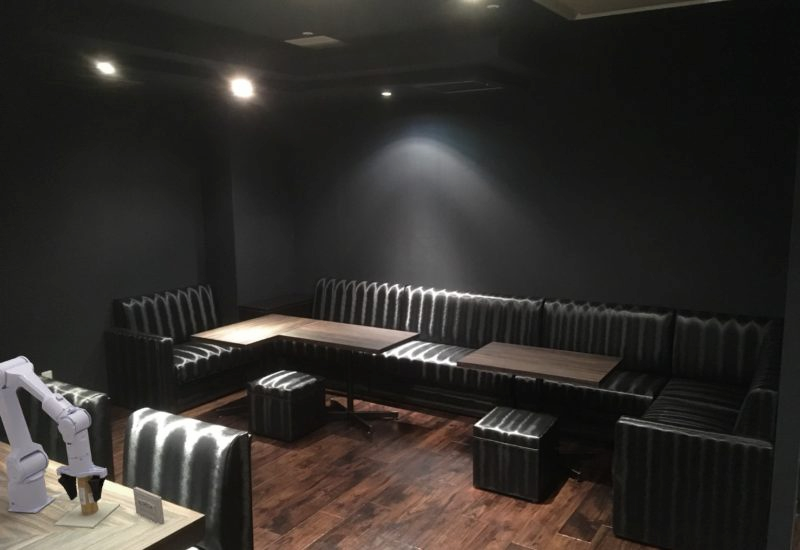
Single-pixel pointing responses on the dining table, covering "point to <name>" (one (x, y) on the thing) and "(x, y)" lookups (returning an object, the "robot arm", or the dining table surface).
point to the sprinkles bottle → (86, 496)
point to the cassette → (148, 505)
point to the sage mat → (87, 516)
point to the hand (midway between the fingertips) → (85, 499)
